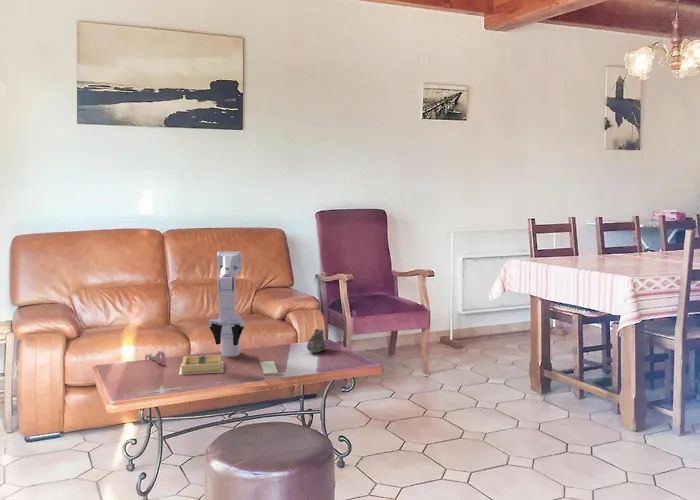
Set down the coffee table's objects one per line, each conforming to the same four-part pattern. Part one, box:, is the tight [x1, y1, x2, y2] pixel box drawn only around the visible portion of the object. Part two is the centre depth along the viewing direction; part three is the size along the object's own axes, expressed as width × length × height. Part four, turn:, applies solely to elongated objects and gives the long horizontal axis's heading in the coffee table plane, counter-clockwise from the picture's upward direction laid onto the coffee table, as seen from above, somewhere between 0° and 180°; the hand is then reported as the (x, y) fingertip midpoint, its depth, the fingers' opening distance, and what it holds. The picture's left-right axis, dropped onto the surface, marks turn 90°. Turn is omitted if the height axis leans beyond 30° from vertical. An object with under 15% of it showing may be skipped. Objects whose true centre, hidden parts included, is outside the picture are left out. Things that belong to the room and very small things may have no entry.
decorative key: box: [144, 350, 166, 366], centre depth 260 cm, size 7×1×20 cm
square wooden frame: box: [180, 354, 222, 375], centre depth 248 cm, size 14×14×3 cm
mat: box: [259, 360, 279, 376], centre depth 252 cm, size 18×18×1 cm
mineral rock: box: [306, 328, 327, 354], centre depth 281 cm, size 13×11×10 cm
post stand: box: [178, 355, 224, 375], centre depth 248 cm, size 16×16×6 cm
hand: (226, 344), depth 246 cm, fingers open, 7 cm apart
